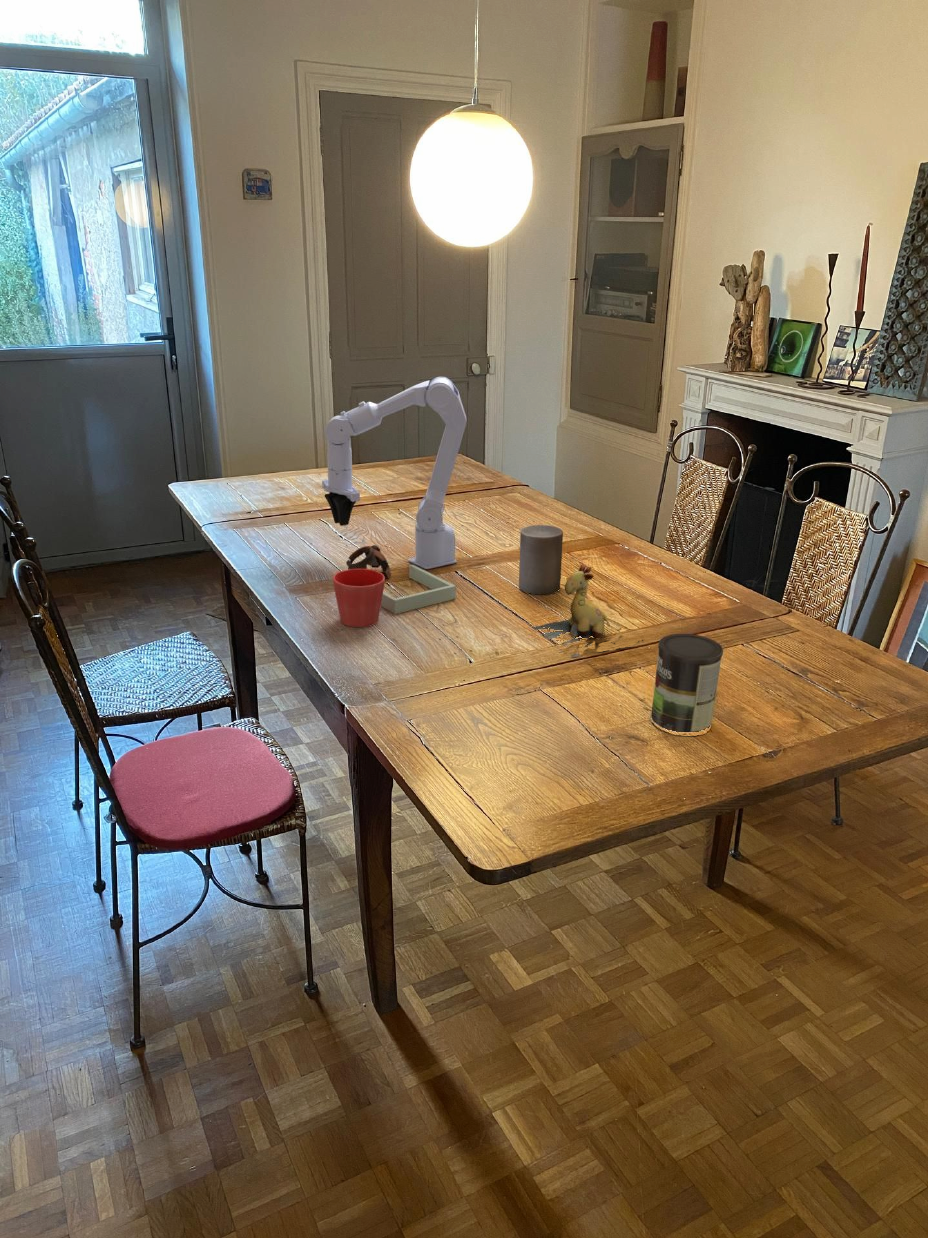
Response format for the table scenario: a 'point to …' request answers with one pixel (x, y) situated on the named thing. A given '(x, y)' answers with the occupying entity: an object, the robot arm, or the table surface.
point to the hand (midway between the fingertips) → (341, 523)
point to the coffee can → (686, 682)
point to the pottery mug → (369, 559)
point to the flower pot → (359, 596)
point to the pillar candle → (540, 559)
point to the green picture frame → (438, 594)
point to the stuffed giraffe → (579, 612)
